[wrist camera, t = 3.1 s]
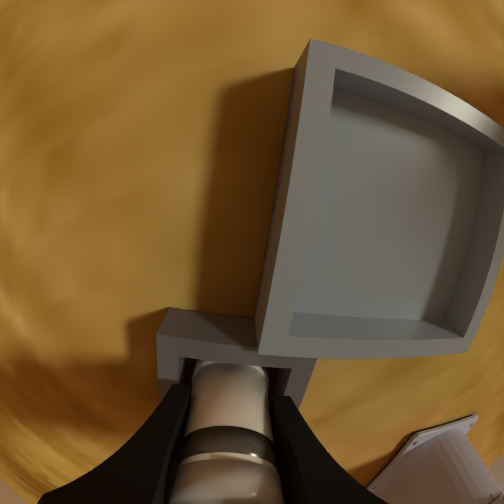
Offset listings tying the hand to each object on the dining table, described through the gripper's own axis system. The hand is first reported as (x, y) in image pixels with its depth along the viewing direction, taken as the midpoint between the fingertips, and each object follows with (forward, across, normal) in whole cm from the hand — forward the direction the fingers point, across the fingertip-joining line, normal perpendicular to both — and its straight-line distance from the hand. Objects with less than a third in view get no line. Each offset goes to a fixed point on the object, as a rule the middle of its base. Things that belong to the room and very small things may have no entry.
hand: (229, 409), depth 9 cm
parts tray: (+2, -5, -8) cm, 10 cm away
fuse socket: (+2, 0, 0) cm, 2 cm away
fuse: (+2, 0, 0) cm, 2 cm away
